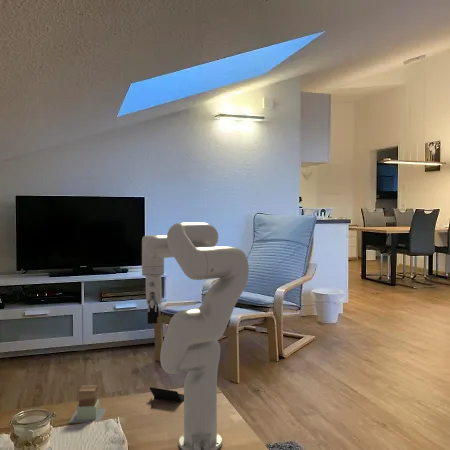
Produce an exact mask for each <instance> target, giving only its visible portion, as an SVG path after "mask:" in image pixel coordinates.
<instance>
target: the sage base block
mask: <svg viewBox="0 0 450 450" xmlns="http://www.w3.org/2000/svg"><path fill="white" fill-rule="evenodd" d="M99 409H100V399H99V398H98V400H97V402H96V404H95V406H81V407H79V403H78V405H77V406H76V410H77V420H82V419H96V418H97V415H98V413H99Z"/></svg>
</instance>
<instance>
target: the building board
mask: <svg viewBox="0 0 450 450" xmlns="http://www.w3.org/2000/svg"><path fill="white" fill-rule="evenodd" d="M106 410H107V408H99V413H98V415H97V418H96V419H82V420H77V409H75V411H74V413H73V415H72V416H71V419H70V420H69V422H68V423H69V424H75V423H92V422H91V421H101V422H102V420H103V418H104V416H105V412H106Z"/></svg>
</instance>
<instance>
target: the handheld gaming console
mask: <svg viewBox="0 0 450 450" xmlns="http://www.w3.org/2000/svg"><path fill="white" fill-rule="evenodd" d="M149 390H150V392H151V394H152V396H153V400H154V399H155V400H158V401H159V400H160V401H165V402H171V403H178V404H182V403H184V393H179V392H178V391H177V390H171V389H164V388H157V387H152V386H151V387H149Z"/></svg>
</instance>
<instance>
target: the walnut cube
mask: <svg viewBox="0 0 450 450" xmlns="http://www.w3.org/2000/svg"><path fill="white" fill-rule="evenodd" d="M98 389H99V388H98V385H97V384H90V385H89V384H88V385H81V387H80V388H79V391H78V404H79V407H81V406H95V404H96V402H97V400H98V399H99V397H98V396H99V393H98Z"/></svg>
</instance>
